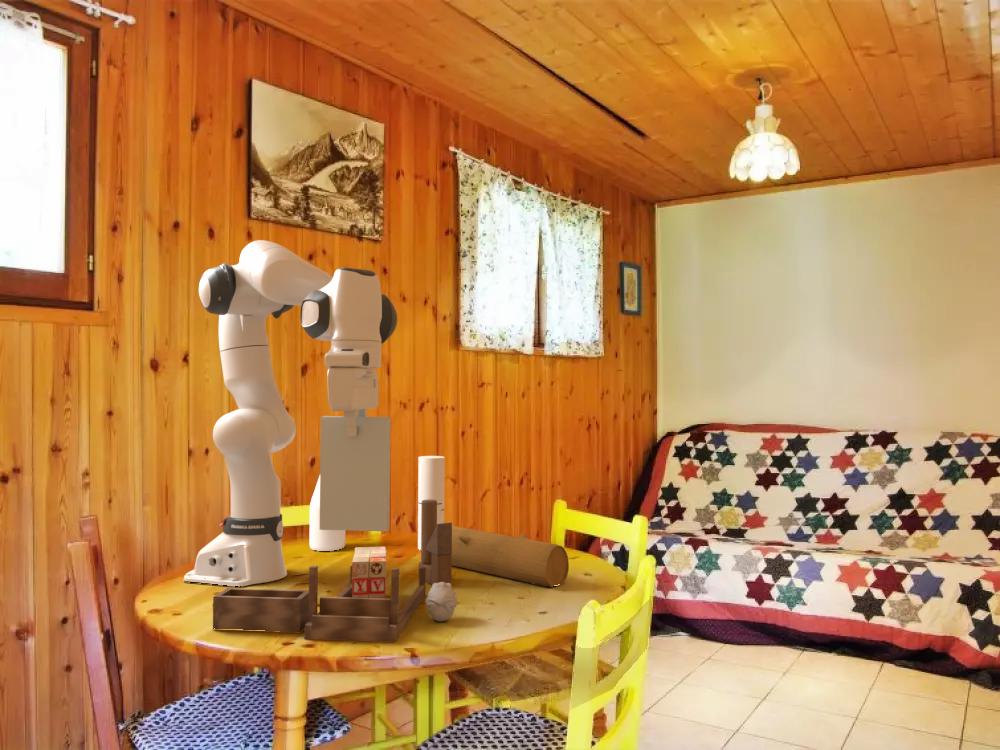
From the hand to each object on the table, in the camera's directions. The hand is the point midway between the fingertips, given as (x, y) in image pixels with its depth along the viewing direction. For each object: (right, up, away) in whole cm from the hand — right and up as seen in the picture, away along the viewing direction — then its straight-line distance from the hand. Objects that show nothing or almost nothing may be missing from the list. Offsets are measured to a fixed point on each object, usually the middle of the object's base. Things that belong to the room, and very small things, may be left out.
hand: (355, 435), depth 136 cm
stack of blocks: (0, -36, +15) cm, 39 cm away
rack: (+1, -36, +11) cm, 37 cm away
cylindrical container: (+7, -37, +73) cm, 82 cm away
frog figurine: (+15, -36, +9) cm, 40 cm away
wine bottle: (-21, -37, +72) cm, 83 cm away
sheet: (0, -17, 0) cm, 17 cm away
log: (+24, -37, +46) cm, 64 cm away
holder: (-18, -35, +4) cm, 40 cm away
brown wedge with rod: (+11, -36, +37) cm, 53 cm away
